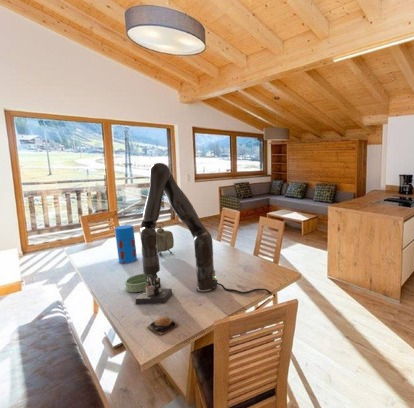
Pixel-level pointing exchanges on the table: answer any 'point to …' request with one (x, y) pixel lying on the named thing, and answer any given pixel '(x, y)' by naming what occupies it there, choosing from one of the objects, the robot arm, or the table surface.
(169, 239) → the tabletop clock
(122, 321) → the table surface
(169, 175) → the robot arm
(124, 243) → the thermos
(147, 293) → the red tipped lever
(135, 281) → the basin
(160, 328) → the open sandwich
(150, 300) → the rotary switch dial
